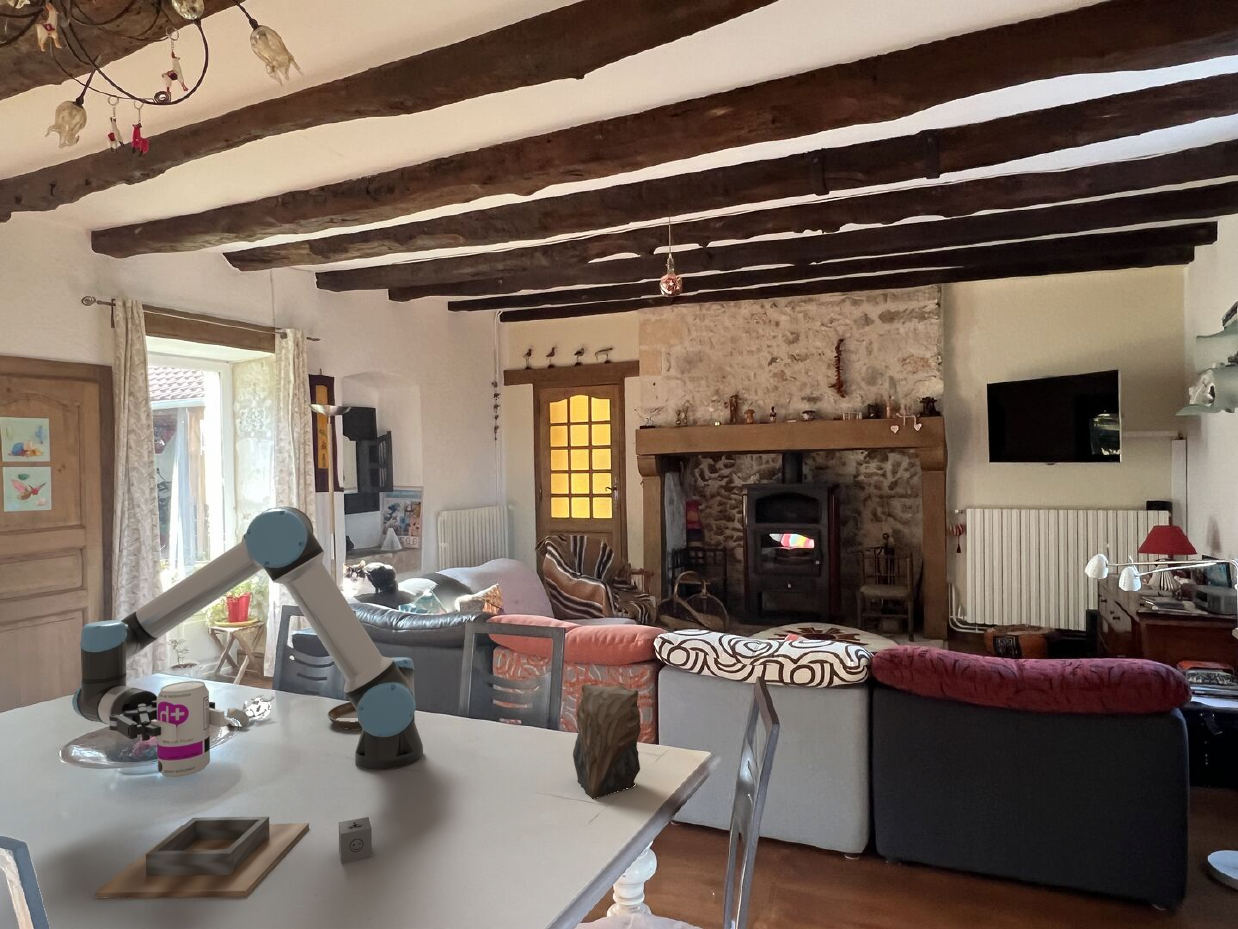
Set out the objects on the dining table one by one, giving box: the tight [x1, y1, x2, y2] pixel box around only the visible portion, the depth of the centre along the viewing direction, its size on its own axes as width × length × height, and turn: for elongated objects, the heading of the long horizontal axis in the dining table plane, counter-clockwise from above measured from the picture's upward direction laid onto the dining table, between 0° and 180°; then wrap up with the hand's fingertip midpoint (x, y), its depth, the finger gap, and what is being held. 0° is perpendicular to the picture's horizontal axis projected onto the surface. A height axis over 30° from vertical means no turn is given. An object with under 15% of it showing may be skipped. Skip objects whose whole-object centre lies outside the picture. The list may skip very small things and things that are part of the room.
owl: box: [572, 683, 642, 800], centre depth 167 cm, size 13×13×20 cm
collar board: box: [94, 816, 310, 899], centre depth 137 cm, size 24×24×5 cm
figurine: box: [226, 694, 275, 728], centre depth 216 cm, size 9×6×12 cm
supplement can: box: [156, 680, 211, 778], centre depth 144 cm, size 8×8×15 cm
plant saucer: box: [327, 701, 362, 730], centre depth 215 cm, size 21×21×3 cm
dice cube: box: [338, 816, 373, 864], centre depth 138 cm, size 5×5×5 cm
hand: (198, 726), depth 141 cm, fingers closed on supplement can, 8 cm apart
